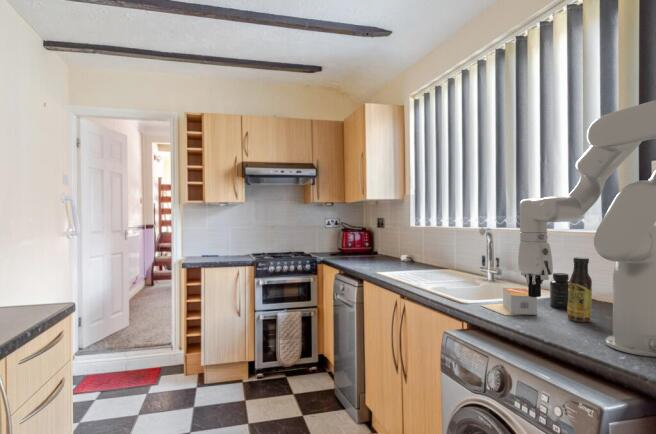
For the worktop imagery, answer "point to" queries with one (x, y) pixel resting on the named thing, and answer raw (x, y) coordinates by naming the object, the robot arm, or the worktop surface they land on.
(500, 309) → the cork mat
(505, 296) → the small box
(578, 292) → the sauce bottle
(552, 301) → the supplement bottle
